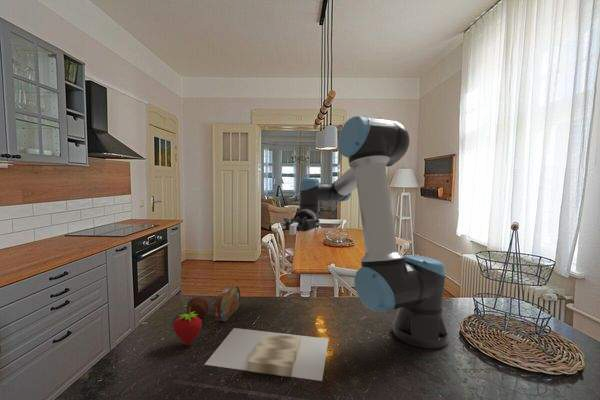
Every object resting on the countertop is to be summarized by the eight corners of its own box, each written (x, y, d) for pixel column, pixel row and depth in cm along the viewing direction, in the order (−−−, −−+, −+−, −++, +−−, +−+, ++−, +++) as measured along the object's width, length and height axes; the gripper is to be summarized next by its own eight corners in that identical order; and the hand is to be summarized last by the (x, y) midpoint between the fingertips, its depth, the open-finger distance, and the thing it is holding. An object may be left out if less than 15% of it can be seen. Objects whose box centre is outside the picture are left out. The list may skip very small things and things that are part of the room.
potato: (183, 323, 92) (183, 303, 92) (189, 310, 101) (188, 291, 101) (206, 322, 93) (206, 302, 93) (210, 309, 102) (210, 291, 102)
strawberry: (179, 337, 84) (179, 302, 83) (205, 339, 83) (205, 304, 82) (168, 349, 78) (168, 312, 77) (196, 351, 77) (196, 314, 77)
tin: (221, 326, 91) (221, 299, 90) (211, 325, 92) (212, 298, 91) (241, 306, 106) (241, 282, 105) (232, 305, 106) (232, 282, 106)
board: (300, 337, 79) (290, 367, 67) (300, 346, 80) (290, 377, 67) (264, 333, 81) (247, 361, 68) (264, 342, 81) (247, 371, 69)
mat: (328, 340, 84) (328, 338, 84) (321, 383, 66) (322, 380, 66) (234, 329, 89) (234, 328, 89) (204, 366, 71) (204, 364, 71)
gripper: (321, 230, 111) (313, 243, 87) (287, 229, 113) (270, 241, 90) (322, 210, 110) (314, 218, 87) (287, 209, 112) (270, 216, 89)
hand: (292, 230), depth 88 cm, fingers closed
